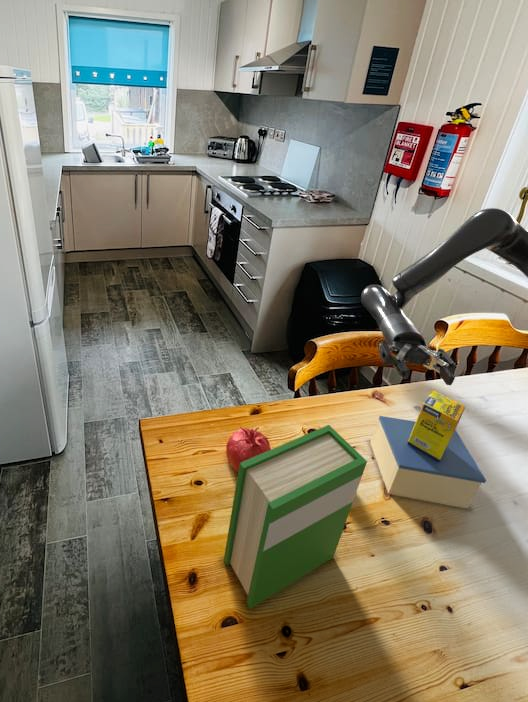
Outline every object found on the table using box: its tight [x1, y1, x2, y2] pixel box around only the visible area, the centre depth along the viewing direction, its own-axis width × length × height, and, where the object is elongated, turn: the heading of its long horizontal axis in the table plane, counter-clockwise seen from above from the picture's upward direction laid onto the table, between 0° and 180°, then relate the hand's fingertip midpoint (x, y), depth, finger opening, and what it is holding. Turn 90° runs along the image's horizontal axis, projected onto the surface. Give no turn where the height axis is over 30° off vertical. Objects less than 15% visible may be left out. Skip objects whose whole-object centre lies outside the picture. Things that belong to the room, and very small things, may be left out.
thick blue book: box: [370, 418, 482, 510], centre depth 82 cm, size 15×13×8 cm
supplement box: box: [407, 389, 466, 462], centre depth 78 cm, size 6×6×11 cm
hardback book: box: [223, 424, 368, 610], centre depth 63 cm, size 18×7×24 cm, turn 116°
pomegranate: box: [225, 426, 272, 473], centre depth 83 cm, size 10×10×9 cm
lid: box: [378, 415, 487, 484], centre depth 80 cm, size 15×13×1 cm
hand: (428, 378), depth 83 cm, fingers open, 8 cm apart
